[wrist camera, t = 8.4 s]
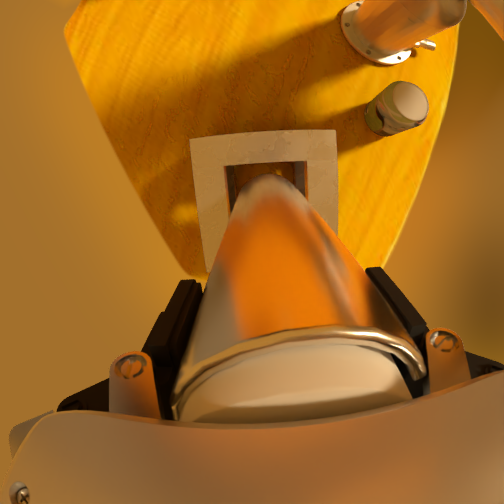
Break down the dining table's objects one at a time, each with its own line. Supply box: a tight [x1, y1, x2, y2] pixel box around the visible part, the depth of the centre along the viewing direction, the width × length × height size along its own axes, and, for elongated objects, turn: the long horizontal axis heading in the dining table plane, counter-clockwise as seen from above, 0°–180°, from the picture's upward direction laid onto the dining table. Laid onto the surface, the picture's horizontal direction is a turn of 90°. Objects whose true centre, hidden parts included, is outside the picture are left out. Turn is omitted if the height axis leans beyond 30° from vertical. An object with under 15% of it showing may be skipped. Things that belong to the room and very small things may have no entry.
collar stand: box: [189, 130, 338, 272], centre depth 34 cm, size 15×15×12 cm
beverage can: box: [364, 81, 429, 136], centre depth 29 cm, size 6×7×12 cm
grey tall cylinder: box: [169, 173, 427, 424], centre depth 16 cm, size 6×6×25 cm
